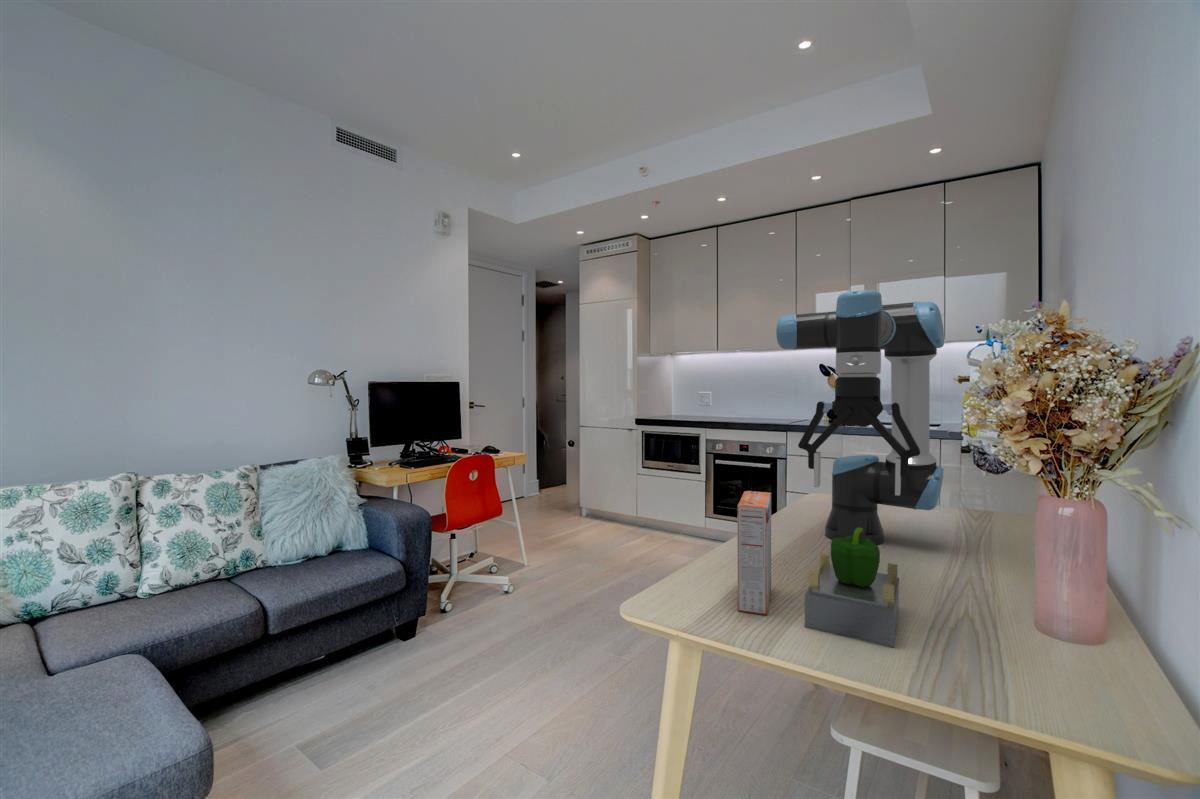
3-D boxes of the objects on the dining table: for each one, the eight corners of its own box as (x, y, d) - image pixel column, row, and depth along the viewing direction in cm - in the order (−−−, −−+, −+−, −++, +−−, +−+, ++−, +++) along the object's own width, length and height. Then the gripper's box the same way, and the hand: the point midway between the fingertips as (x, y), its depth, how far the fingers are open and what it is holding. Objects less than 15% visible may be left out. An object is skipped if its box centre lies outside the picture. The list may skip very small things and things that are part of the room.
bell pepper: (857, 594, 93) (858, 538, 93) (821, 578, 101) (821, 526, 100) (890, 587, 96) (891, 532, 96) (853, 572, 104) (854, 521, 104)
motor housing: (824, 588, 113) (824, 545, 112) (899, 602, 105) (900, 557, 105) (804, 626, 95) (805, 576, 95) (893, 647, 87) (894, 592, 87)
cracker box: (742, 585, 114) (743, 489, 114) (771, 589, 112) (773, 491, 111) (734, 611, 101) (736, 503, 100) (767, 616, 99) (769, 506, 98)
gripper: (783, 376, 101) (782, 486, 102) (938, 375, 88) (935, 501, 88) (791, 376, 107) (790, 480, 108) (937, 375, 94) (934, 493, 95)
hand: (855, 490), depth 98 cm, fingers open, 13 cm apart
